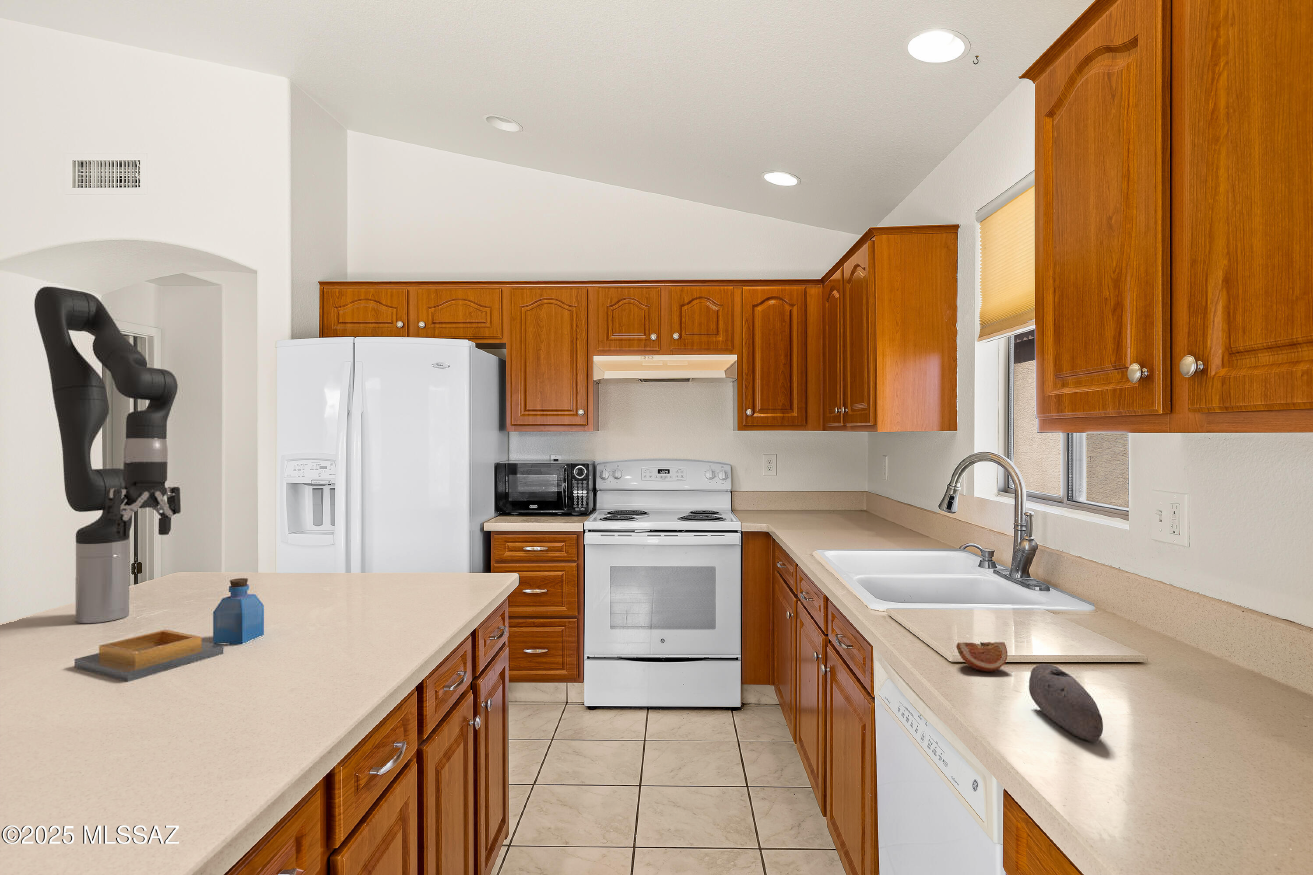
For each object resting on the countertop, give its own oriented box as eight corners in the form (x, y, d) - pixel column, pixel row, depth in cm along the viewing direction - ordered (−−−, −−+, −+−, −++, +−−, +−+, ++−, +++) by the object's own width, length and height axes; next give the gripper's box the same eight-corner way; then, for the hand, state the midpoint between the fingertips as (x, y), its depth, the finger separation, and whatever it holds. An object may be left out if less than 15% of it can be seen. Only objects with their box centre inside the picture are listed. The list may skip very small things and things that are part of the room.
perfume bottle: (263, 635, 139) (263, 576, 139) (242, 644, 133) (242, 583, 133) (235, 634, 140) (235, 576, 140) (213, 643, 133) (213, 582, 133)
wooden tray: (74, 667, 120) (74, 647, 120) (171, 642, 134) (171, 624, 134) (127, 681, 113) (127, 660, 113) (223, 653, 127) (223, 634, 127)
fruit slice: (964, 675, 118) (964, 646, 117) (949, 662, 124) (949, 635, 124) (1013, 676, 117) (1013, 647, 117) (995, 663, 124) (995, 635, 124)
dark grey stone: (1118, 752, 89) (1118, 699, 89) (1076, 750, 90) (1076, 698, 90) (1061, 706, 104) (1061, 661, 104) (1025, 705, 105) (1025, 660, 105)
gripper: (164, 461, 153) (163, 533, 152) (97, 460, 139) (95, 540, 138) (190, 460, 150) (189, 533, 150) (124, 459, 137) (122, 540, 136)
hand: (144, 536), depth 144 cm, fingers open, 8 cm apart
